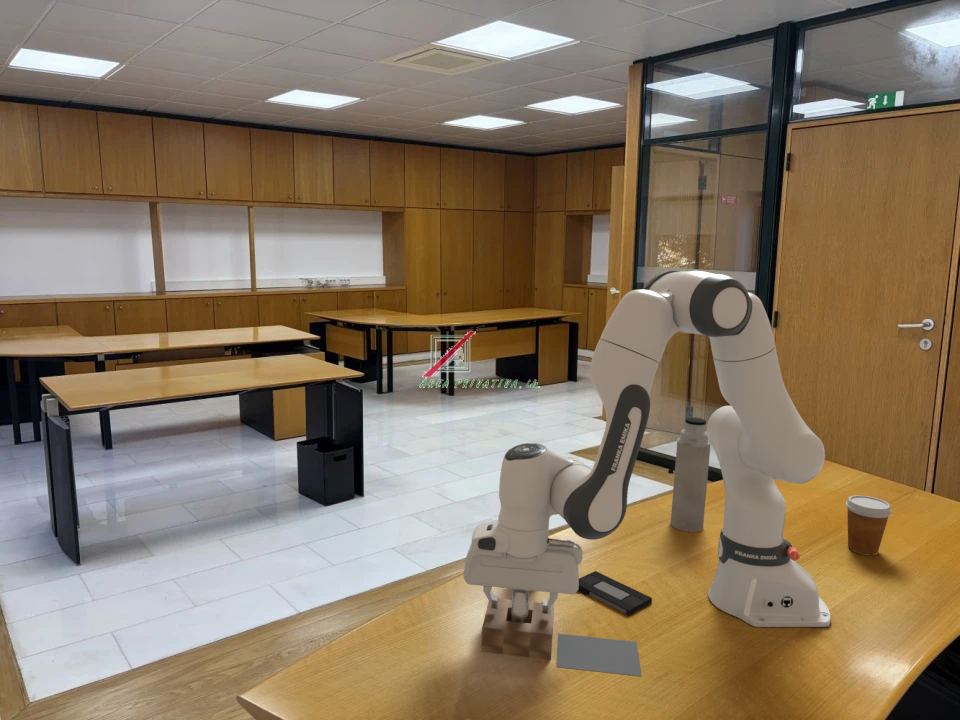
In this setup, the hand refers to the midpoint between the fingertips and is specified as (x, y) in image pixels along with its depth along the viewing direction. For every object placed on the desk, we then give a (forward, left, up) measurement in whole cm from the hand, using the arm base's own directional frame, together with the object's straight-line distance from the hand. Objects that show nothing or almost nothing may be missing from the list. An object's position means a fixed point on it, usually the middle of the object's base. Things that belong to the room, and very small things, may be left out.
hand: (519, 609), depth 122 cm
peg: (0, 0, -6) cm, 6 cm away
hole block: (0, 0, -6) cm, 6 cm away
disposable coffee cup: (-78, -53, -6) cm, 95 cm away
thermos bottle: (-38, -59, -6) cm, 70 cm away
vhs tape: (-17, -19, -7) cm, 27 cm away
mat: (-14, +2, -6) cm, 15 cm away
